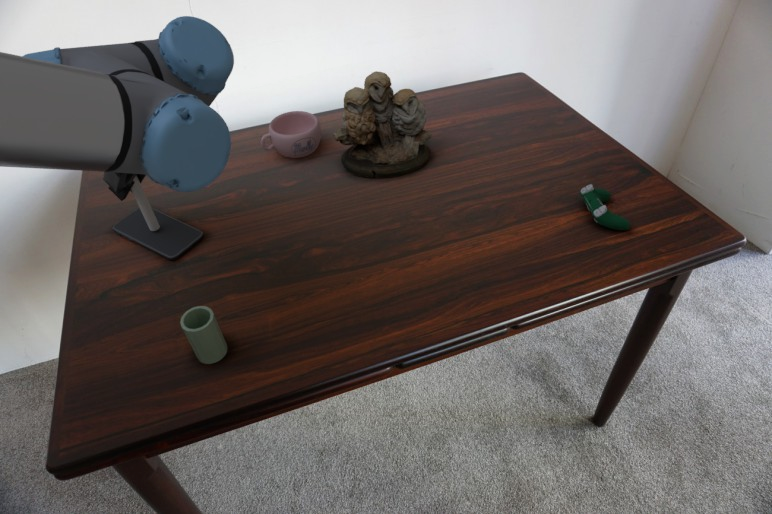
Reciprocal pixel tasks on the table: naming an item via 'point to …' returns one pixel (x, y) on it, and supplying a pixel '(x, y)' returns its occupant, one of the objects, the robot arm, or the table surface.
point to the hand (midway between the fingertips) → (122, 189)
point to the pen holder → (204, 334)
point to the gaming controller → (602, 208)
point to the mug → (294, 134)
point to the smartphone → (159, 233)
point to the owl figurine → (383, 130)
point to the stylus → (144, 205)
